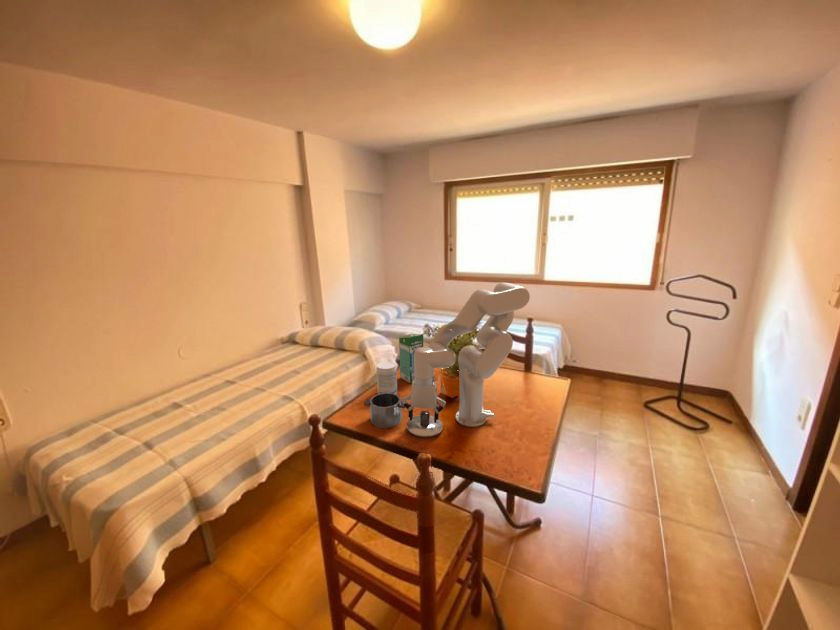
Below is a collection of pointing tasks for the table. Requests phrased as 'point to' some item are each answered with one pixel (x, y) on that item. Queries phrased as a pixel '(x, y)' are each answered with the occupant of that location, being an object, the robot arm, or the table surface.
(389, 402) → the stockpot
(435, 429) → the lid
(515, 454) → the table surface
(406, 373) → the milk carton
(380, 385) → the supplement tub
